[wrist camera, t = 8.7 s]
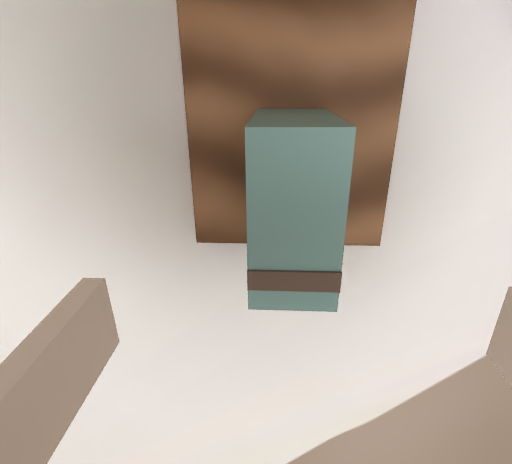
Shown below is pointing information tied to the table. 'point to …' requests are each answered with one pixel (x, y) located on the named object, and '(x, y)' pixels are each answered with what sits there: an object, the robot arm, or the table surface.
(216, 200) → the board
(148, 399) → the table surface
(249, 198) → the stub
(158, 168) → the table surface
